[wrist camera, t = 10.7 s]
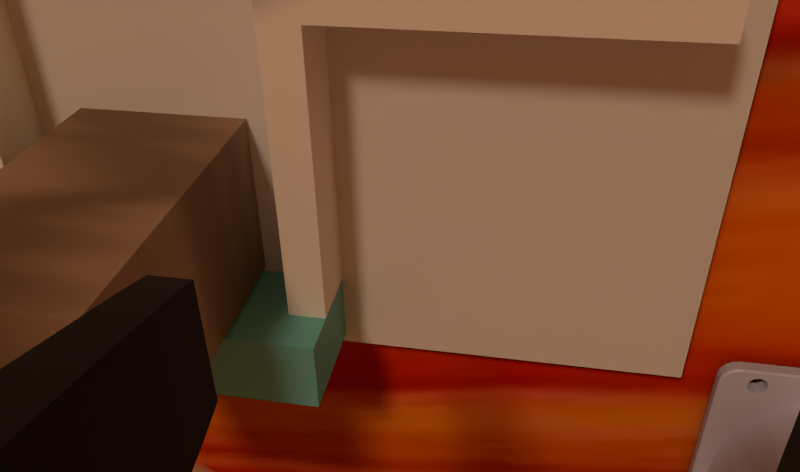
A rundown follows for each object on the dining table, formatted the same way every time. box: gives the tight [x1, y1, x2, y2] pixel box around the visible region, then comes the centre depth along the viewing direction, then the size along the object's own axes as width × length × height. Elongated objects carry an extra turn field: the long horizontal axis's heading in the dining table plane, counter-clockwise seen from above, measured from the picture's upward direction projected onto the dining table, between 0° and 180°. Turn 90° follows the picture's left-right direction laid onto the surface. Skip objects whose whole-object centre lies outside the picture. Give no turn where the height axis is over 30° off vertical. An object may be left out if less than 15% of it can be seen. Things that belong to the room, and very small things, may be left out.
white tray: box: [0, 0, 778, 407], centre depth 16 cm, size 20×20×4 cm
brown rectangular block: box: [0, 108, 266, 369], centre depth 17 cm, size 4×4×8 cm
